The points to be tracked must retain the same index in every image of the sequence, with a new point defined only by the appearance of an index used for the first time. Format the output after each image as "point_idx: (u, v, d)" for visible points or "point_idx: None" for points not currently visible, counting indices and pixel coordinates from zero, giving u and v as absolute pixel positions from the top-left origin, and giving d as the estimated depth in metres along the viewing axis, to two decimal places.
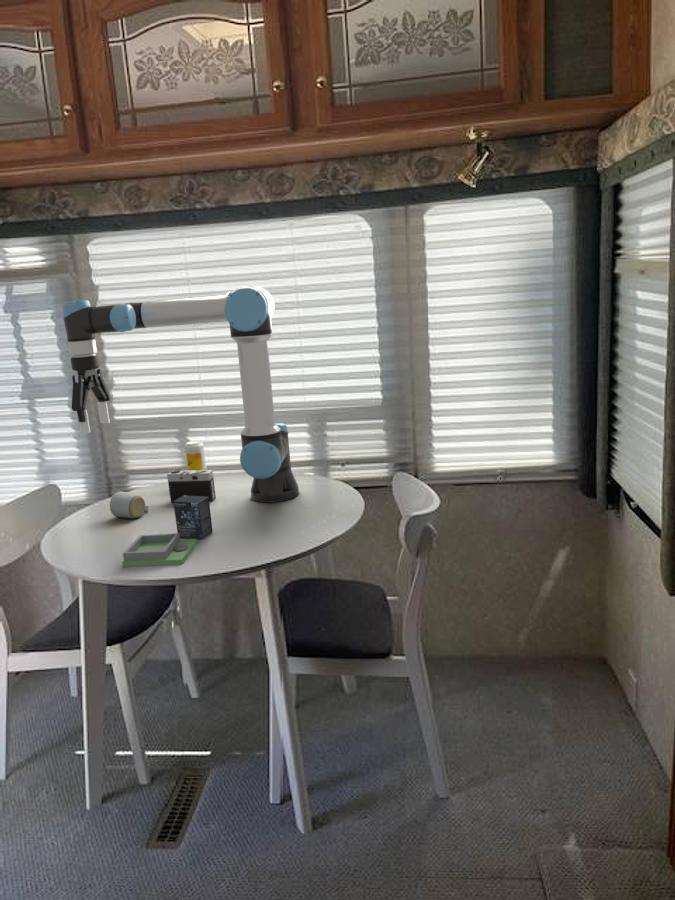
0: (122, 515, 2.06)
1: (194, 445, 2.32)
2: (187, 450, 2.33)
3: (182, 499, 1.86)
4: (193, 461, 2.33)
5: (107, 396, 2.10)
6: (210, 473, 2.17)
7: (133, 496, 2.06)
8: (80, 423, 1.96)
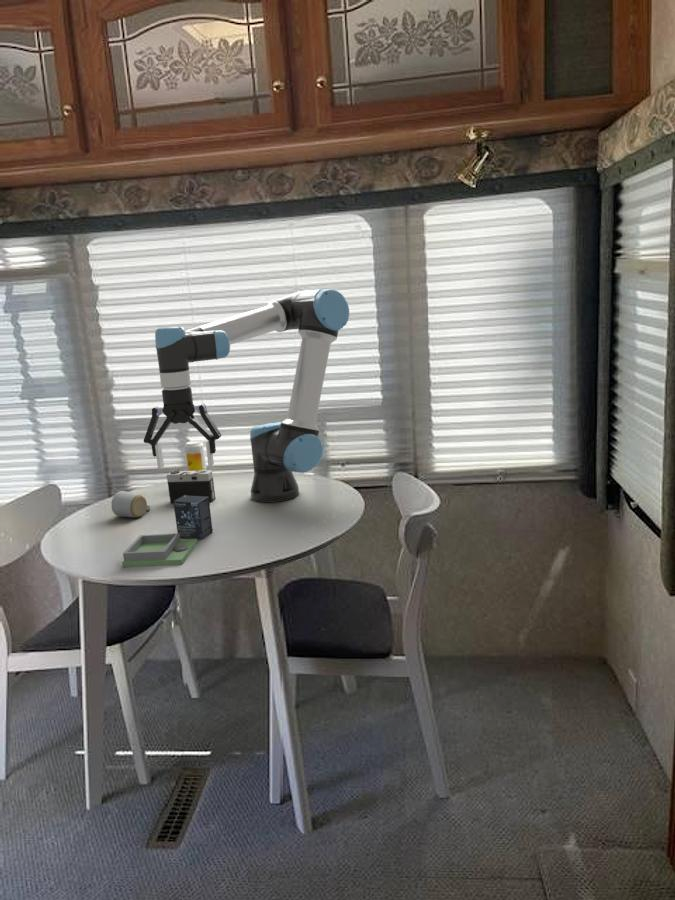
0: (124, 514, 2.07)
1: (194, 445, 2.32)
2: (187, 450, 2.33)
3: (182, 499, 1.86)
4: (193, 461, 2.33)
5: (214, 437, 1.81)
6: (210, 473, 2.17)
7: (135, 495, 2.06)
8: None
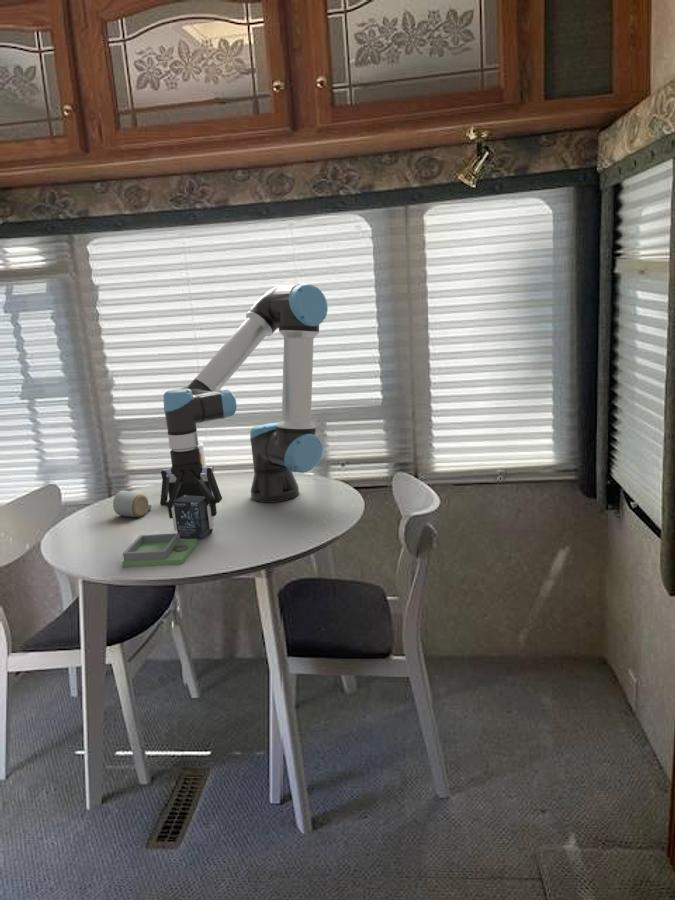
0: (125, 514, 2.07)
1: None
2: None
3: (182, 499, 1.86)
4: None
5: (215, 500, 1.85)
6: None
7: (136, 495, 2.07)
8: None
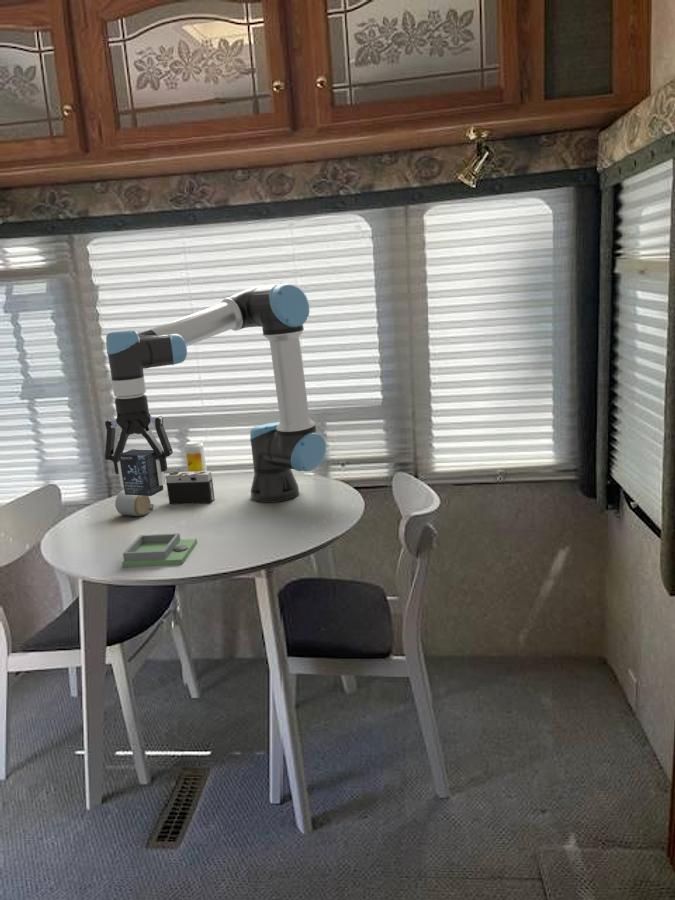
0: (128, 513, 2.08)
1: (194, 445, 2.32)
2: (187, 450, 2.33)
3: (129, 452, 1.71)
4: (193, 461, 2.33)
5: (164, 453, 1.69)
6: (209, 474, 2.16)
7: None
8: None
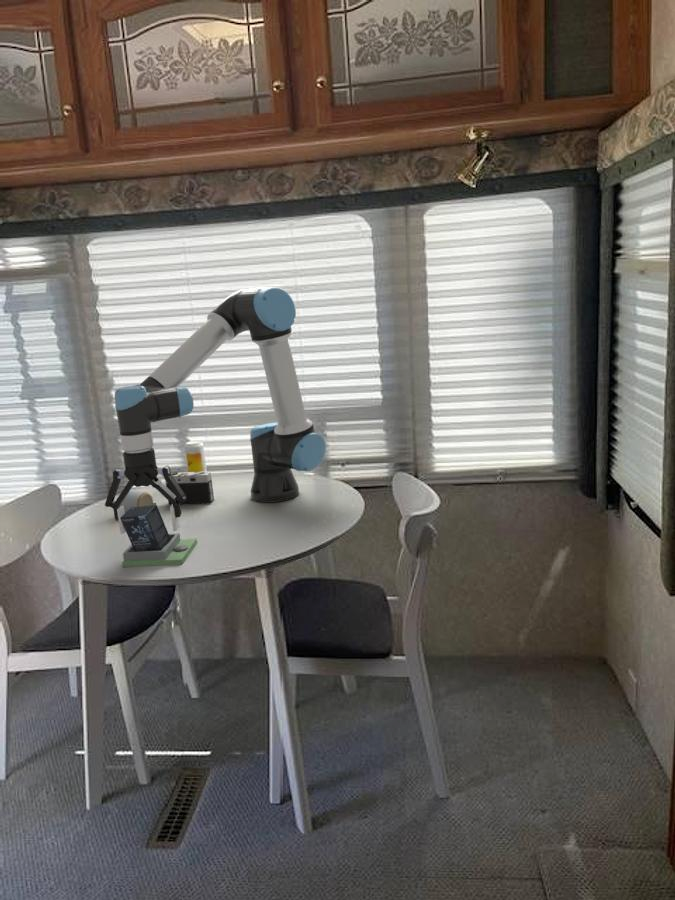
0: None
1: (194, 445, 2.32)
2: (187, 450, 2.33)
3: (129, 513, 1.73)
4: (193, 461, 2.33)
5: (179, 501, 1.72)
6: (208, 475, 2.15)
7: (141, 493, 2.08)
8: None
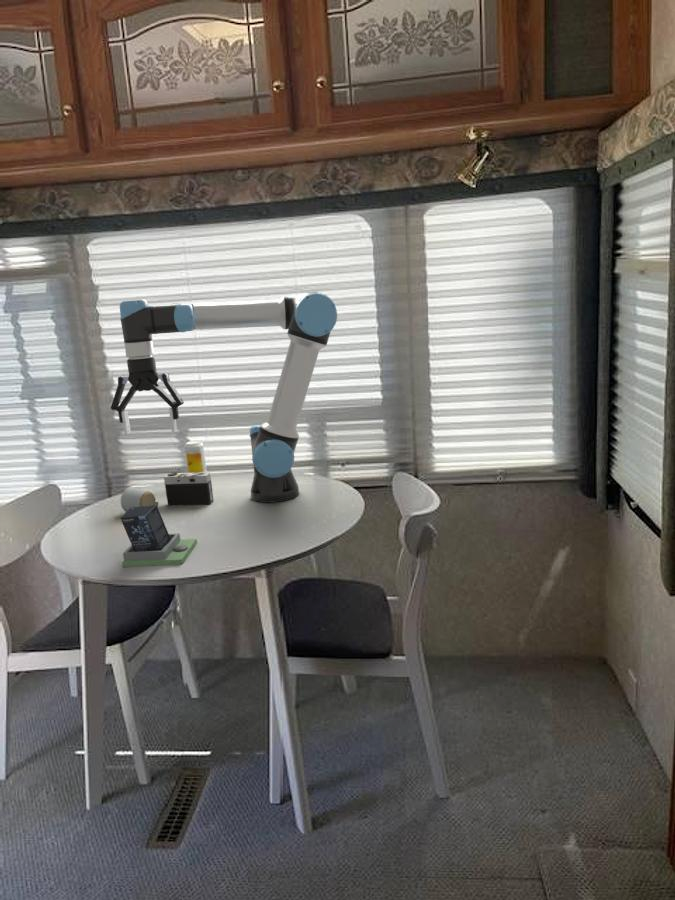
0: None
1: (194, 445, 2.32)
2: (187, 450, 2.33)
3: (129, 513, 1.73)
4: (193, 461, 2.33)
5: (177, 403, 1.93)
6: (208, 475, 2.15)
7: (144, 492, 2.09)
8: None
